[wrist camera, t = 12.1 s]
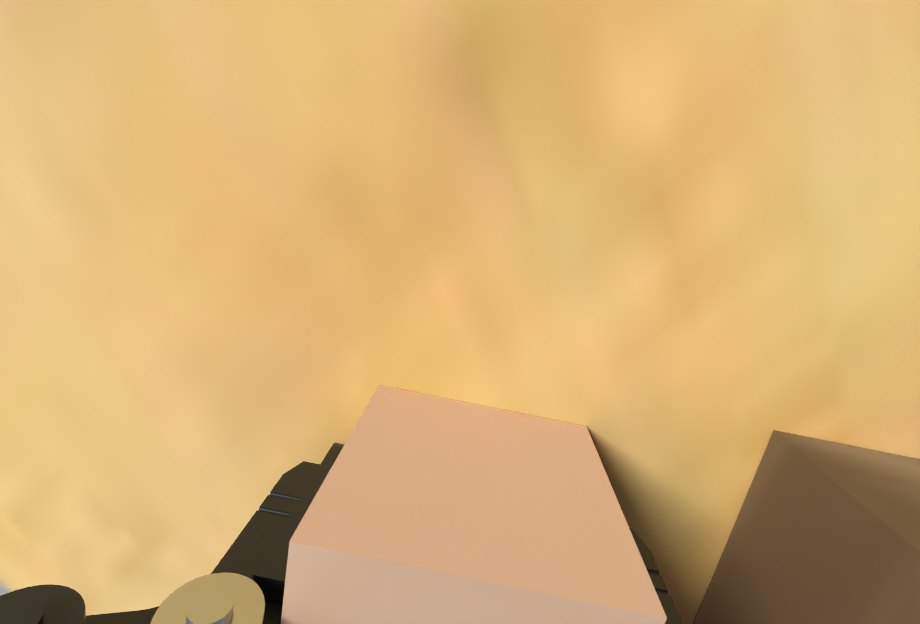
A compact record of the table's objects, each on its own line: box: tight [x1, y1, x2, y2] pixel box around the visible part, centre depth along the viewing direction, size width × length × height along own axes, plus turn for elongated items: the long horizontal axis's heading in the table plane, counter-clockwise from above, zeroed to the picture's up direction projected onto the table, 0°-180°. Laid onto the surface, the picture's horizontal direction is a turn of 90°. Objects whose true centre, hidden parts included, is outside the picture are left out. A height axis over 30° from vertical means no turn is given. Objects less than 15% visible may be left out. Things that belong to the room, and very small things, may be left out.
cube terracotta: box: [281, 385, 667, 624], centre depth 8 cm, size 4×4×4 cm
